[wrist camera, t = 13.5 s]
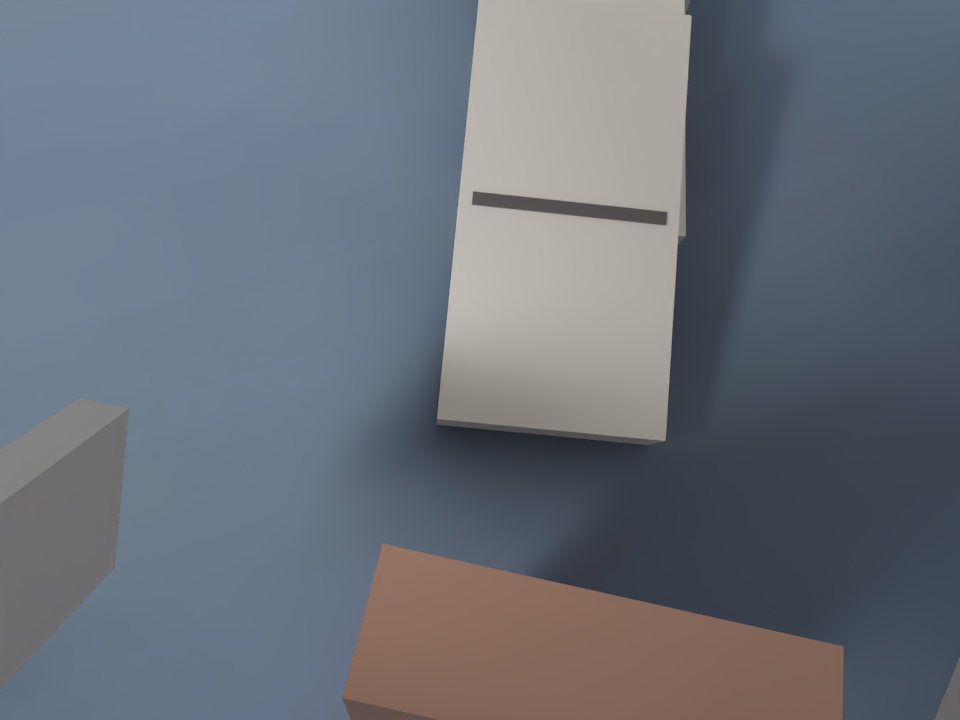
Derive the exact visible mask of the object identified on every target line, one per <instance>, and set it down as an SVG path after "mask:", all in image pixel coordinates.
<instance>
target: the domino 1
mask: <svg viewBox="0 0 960 720" xmlns="http://www.w3.org/2000/svg"><path fill="white" fill-rule="evenodd" d="M691 19H692V15H683V14H674V13H666V12H657V11H648V10H639V9H631V8H622V7H613V6H605V5H596V4H587V3H578V2H570V1H561V0H479V2H478V12H477V22H476V32H475V42H474V52H473V62H472V72H471V82H470V92H469V102H468V112H467V122H466V132H465V142H464V152H463V162H462V172H461V182H460V192H459V202H458V212H457V222H456V232H455V242H454V253H453V263H452V273H451V283H450V293H449V303H448V313H447V323H446V333H445V343H444V353H443V363H442V373H441V383H440V393H439V403H438V413H437V424H436V425H444V426H455V427H465V428H475V429H486V430H496V431H506V432H517V433H527V434H538V435H548V436H558V437H569V438H579V439H589V440H600V441H610V442H620V443H631V444H641V445H651V444H655V443H659V442H663V441H666V427H667V411H668V394H669V378H670V362H671V345H672V329H673V313H674V296H675V280H676V264H677V247H678V231H679V215H680V198H681V182H682V166H683V149H684V133H685V117H686V100H687V84H688V68H689V51H690V35H691Z"/></svg>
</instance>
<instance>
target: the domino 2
mask: <svg viewBox="0 0 960 720" xmlns="http://www.w3.org/2000/svg"><path fill="white" fill-rule="evenodd" d="M843 662H844V646H840V645H835V644H831V643H826V642H822V641H818V640H813V639H809V638H804V637H800V636H795V635H791V634H786V633H782V632H777V631H773V630H768V629H764V628H759V627H755V626H750V625H746V624H741V623H737V622H732V621H728V620H723V619H719V618H714V617H710V616H705V615H701V614H696V613H692V612H687V611H683V610H678V609H674V608H669V607H665V606H660V605H656V604H651V603H647V602H643V601H638V600H634V599H629V598H625V597H620V596H616V595H611V594H607V593H602V592H598V591H593V590H589V589H584V588H580V587H575V586H571V585H566V584H562V583H557V582H553V581H548V580H544V579H539V578H535V577H530V576H526V575H521V574H517V573H512V572H508V571H503V570H499V569H494V568H490V567H485V566H481V565H477V564H472V563H468V562H463V561H459V560H454V559H450V558H445V557H441V556H436V555H432V554H427V553H423V552H418V551H414V550H409V549H405V548H400V547H396V546H391V545H387V544H382V548H381V552H380V556H379V559H378V563H377V567H376V571H375V575H374V579H373V582H372V586H371V590H370V594H369V598H368V602H367V605H366V609H365V613H364V617H363V621H362V625H361V628H360V632H359V636H358V640H357V644H356V648H355V651H354V655H353V659H352V663H351V667H350V671H349V674H348V678H347V682H346V686H345V690H344V694H343V697H342V698H343V701H344V703H345V706H346V709H347V711H348V714H349V717H350V719H351V720H843Z"/></svg>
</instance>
